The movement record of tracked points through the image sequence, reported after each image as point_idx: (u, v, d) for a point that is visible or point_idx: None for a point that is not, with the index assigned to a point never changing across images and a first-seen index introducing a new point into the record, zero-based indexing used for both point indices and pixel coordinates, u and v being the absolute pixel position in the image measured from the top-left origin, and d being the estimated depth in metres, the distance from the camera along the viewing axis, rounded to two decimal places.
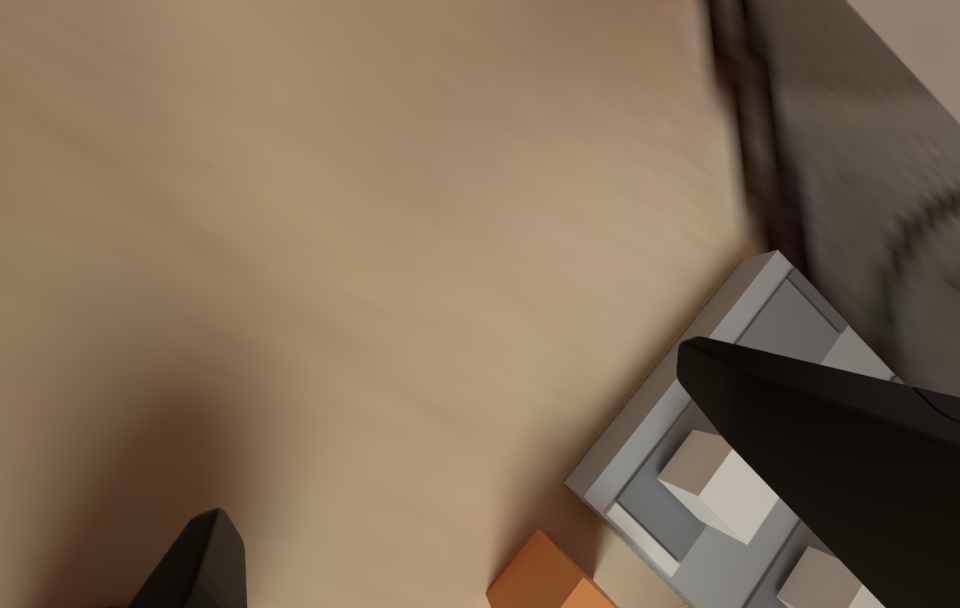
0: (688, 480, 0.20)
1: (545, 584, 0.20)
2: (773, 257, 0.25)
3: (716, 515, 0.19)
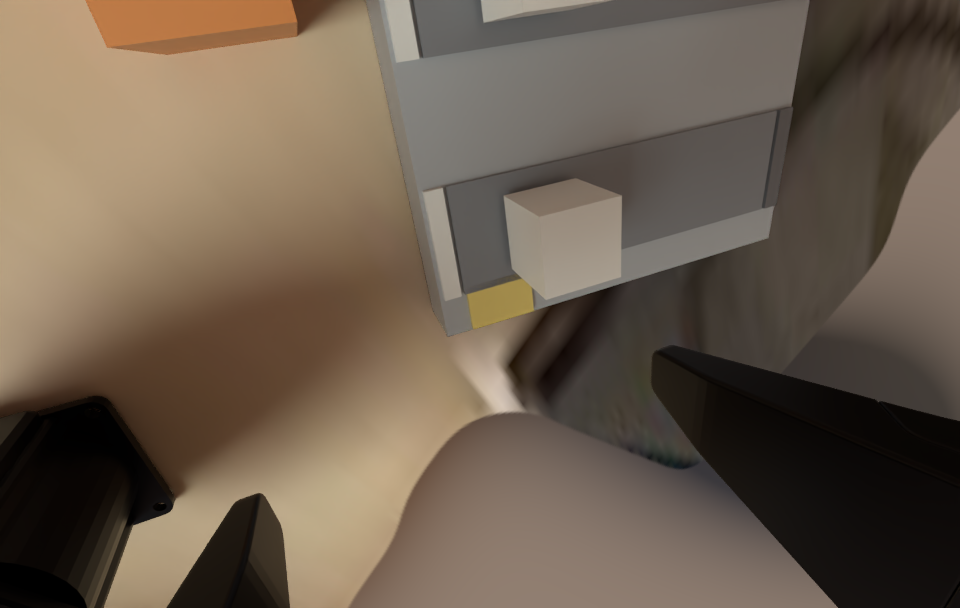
0: None
1: None
2: None
3: None
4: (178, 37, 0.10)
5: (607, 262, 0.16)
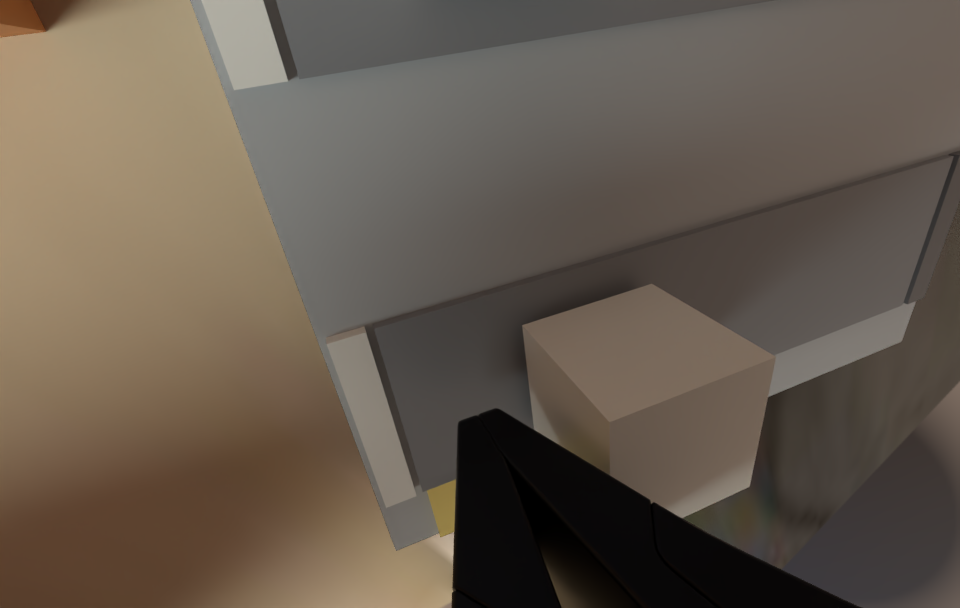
0: None
1: None
2: None
3: None
4: None
5: (730, 470, 0.08)
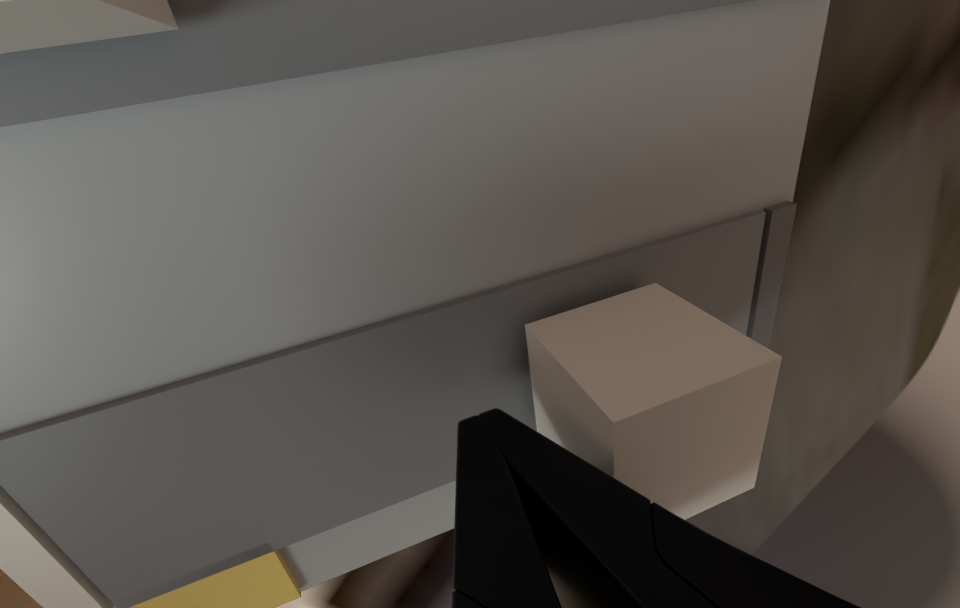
0: None
1: None
2: None
3: None
4: None
5: (735, 470, 0.08)
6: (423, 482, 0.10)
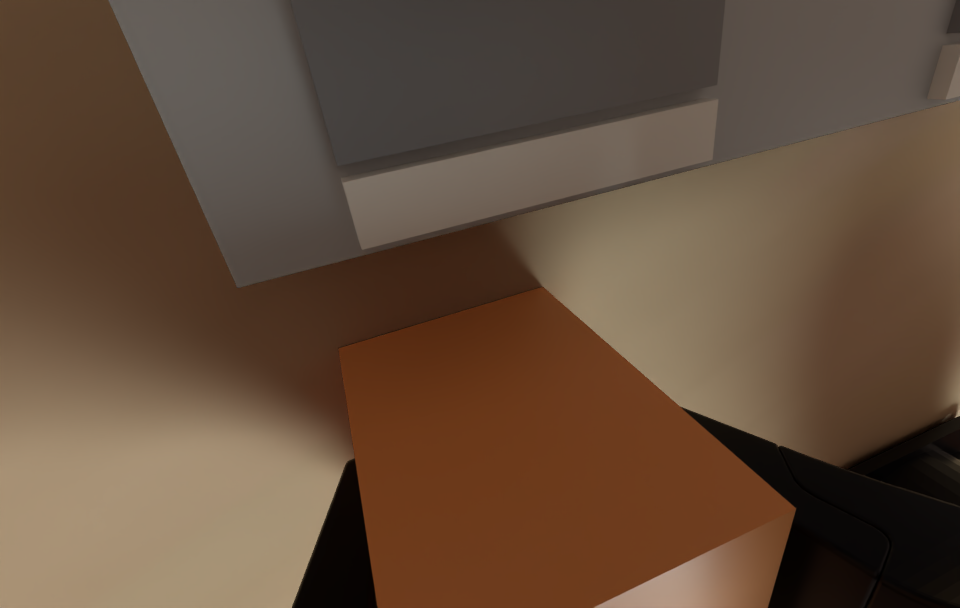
0: None
1: None
2: None
3: None
4: None
5: None
6: None
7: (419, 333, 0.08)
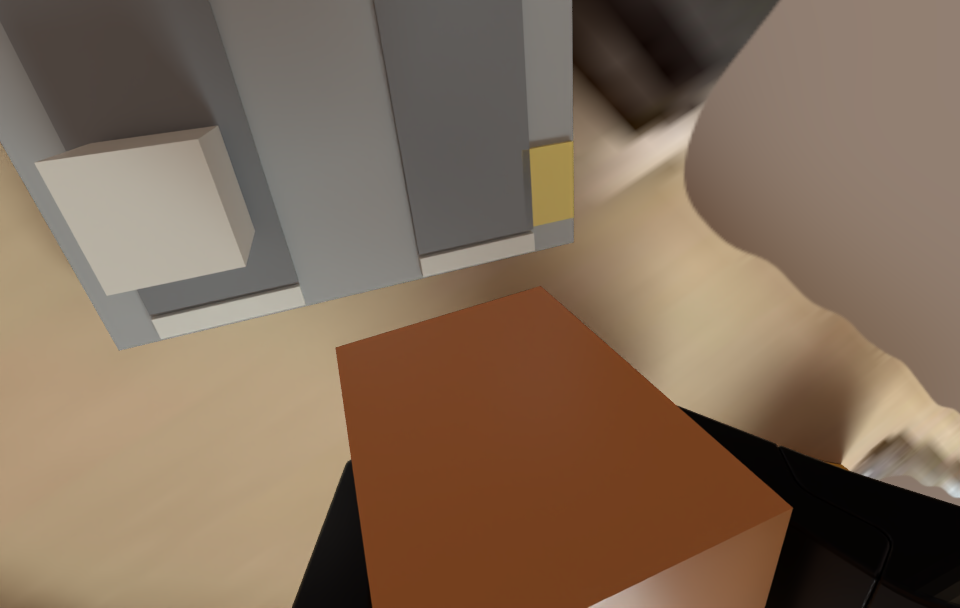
0: None
1: None
2: None
3: (168, 280, 0.11)
4: None
5: None
6: (514, 39, 0.14)
7: (416, 332, 0.08)
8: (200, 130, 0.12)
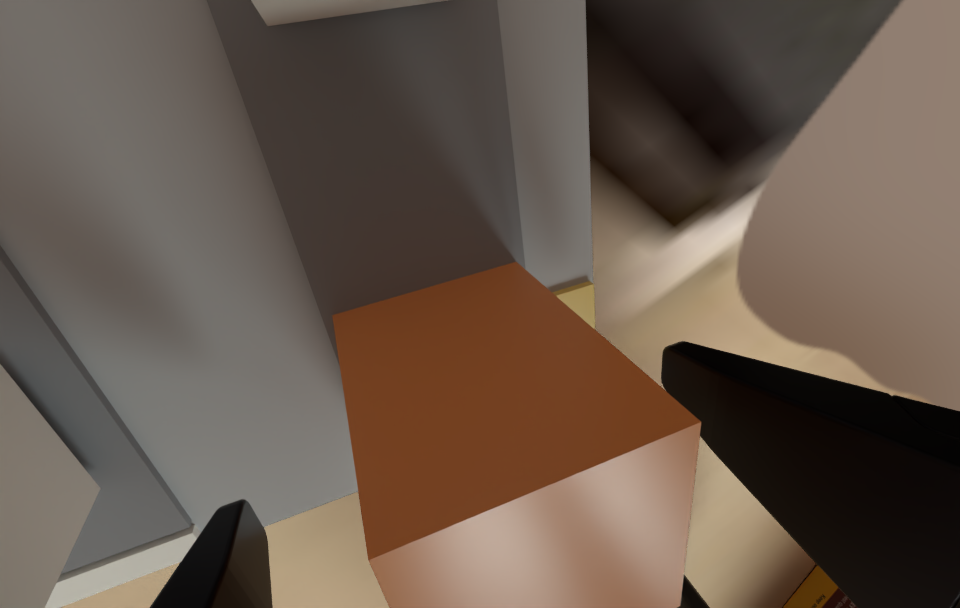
0: None
1: None
2: None
3: None
4: None
5: None
6: (499, 161, 0.09)
7: (404, 301, 0.09)
8: None
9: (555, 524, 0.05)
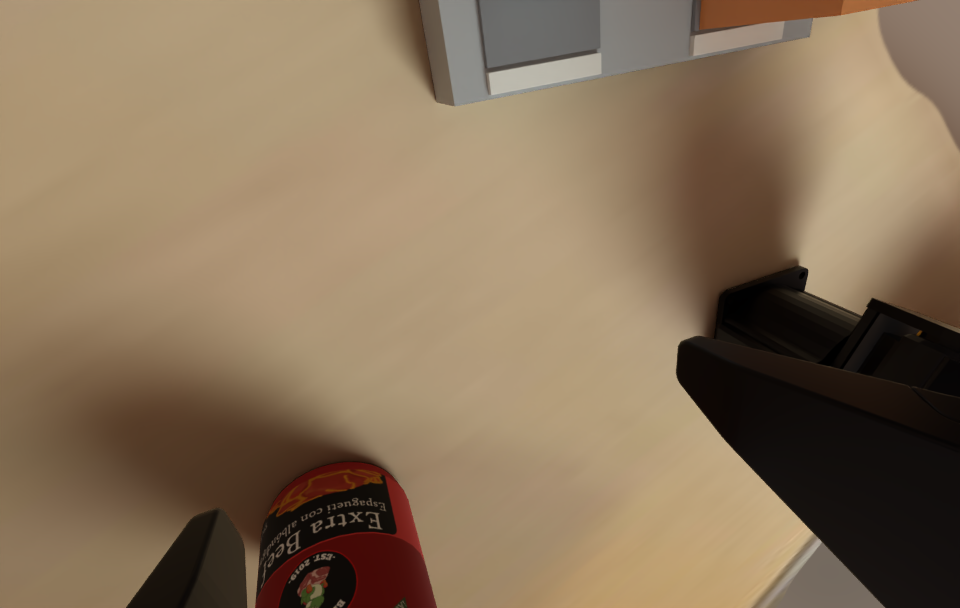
0: None
1: None
2: None
3: None
4: None
5: None
6: None
7: None
8: None
9: None
